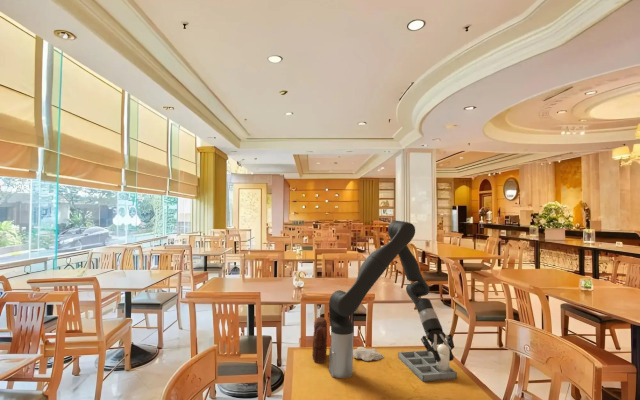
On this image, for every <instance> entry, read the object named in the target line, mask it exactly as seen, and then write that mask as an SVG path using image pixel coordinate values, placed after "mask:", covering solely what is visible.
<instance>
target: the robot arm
mask: <svg viewBox="0 0 640 400" xmlns="http://www.w3.org/2000/svg"><path fill="white" fill-rule="evenodd" d="M387 232H388V236H389V239H390V241H389V242H388V243H385V244H384V245H382V246H381V247H379V248H377V249H375V250H374V251H372V252H371V253H370V254H369V255H368V256H367V257H366V259H365V260H364V261H363V263H362V264H361V266H360V268H359V271H358V274H357V277H356V280H355V282H354V283H353V284H352V286H351V287H350V288H349V289H348V290H347V291H344V290H335V291H334V292H333V293H332V294H331V296H330V298H329V303H328V304H329V305H328V315H329V316H328V317H329V324H330V331H331V332H330V347H329V349H328V350H329V353H328V354H329V356H328V357H329V360H328V361H329V362H328V363H329V364H328V372H329V374H330V375H331V377H332V378H337V379H348V378H351V377H352V376H353V373H354V372H353V371H354V367H353V365H354V356H353V349H354V324H353V322H352V321H351V317H350V316H352V315H353V314H354V313H355V312H356V311H357V310H358V308H359V307H360V305H361V303H362V302H363V300H364V298H365V297H366V295H367V294H368V293H369V292H370V291H371V289H372V288H373V286H374V285H375V284H376V282H377V281H378V280H379V278H380V277H381V276H382V275H383V274H384V272H385V271H386V270H387V269H388V267H389V266H390V265H391V263H392V262H393V261H394V259H396V257H397V256H398V258H399V259H400V262H401V265H402V268H403V271H404V274H405V278H406V280H407V281H409V282H410V283H409V284H407V285H406V288H405V291H406V294H407V295H408V297H409V298H410V300H411V301H412V302H413V303H414V305H415V307H416V310H417V312H418V315H419V319H420V322H421V325H422V328H423V330H424V333H425V335H422V337H421V338H420V340H421V343H422V344H423V346H424V348H425V349H426V350H427V351H428V352H431V353H432V354H433V355H434V358H435V360H437V362H439V361H440V360H441V359H440V357H439V354H438V351H436V348H437V346H438V345H439V344H445V345H446V346H447V347H448V348H449V351H450V362H453V360H454V358H455V356H454V354H453V352H452V350H453V349H454V348H455V343H454V338H453V335H452V334H450V333H449V334H445V332H444V331H443V326H442V324H441V323H440V319H439V317H438V315H437V313H436V310H435V309H434V307H433V303H432V302H431V300H430V299H429V298H427V297H426V298H425V296H427V295H429V293H430V286H429V285H428V283H427V281H425V278H424V277H423V275H422V273H421V270H420V266H419V263H418V261H417V259H416V257H415V256H414V255H413V253H412V251H411V250H410V249H409V247H408V245H409V244H410V243H411V241H412V240H413V239H414V237H415V235H416V227H415V225H414V224H413V223H411V222H407V221H404V220H403V221H401V220H393V221H391V222H390V223H389V224H388V227H387ZM411 282H412V283H411ZM423 297H424V298H423Z"/></svg>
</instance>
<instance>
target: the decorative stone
mask: <svg viewBox="0 0 640 400" xmlns="http://www.w3.org/2000/svg"><path fill="white" fill-rule="evenodd" d="M353 358H355V359H357V360H358V359H359V360H362V361H364V362H371V361H379V360H382V359H384V358H385V356H384V355H383V354H382V353H380V352H379V351H378V350H377V349H376V348H367V347H364V346H358V347H357V348H353Z"/></svg>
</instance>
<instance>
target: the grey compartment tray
mask: <svg viewBox="0 0 640 400" xmlns="http://www.w3.org/2000/svg"><path fill="white" fill-rule="evenodd" d="M397 356H398V359H399V360H400V361H401V362H402V363H403V364H404V366H406V367H407V368H408V369H409V370H410V371H411V372H412V373H413V374H414V375H415V376H416V377H418V379H419V380H420V381H421V382H422V383H426V382H428V383H429V382H436V381H438V382H439V381H448V380H449V381H450V380H457V379H458V372H457V371H456V370H455V369H454V368H452V367H451V366H450V370H449V371H448V372H442V371H439V370H437V369H436V360H435V358H434V355H433V353H432V352H428V351H427V349H426V350H424V349H423V350H410V351H398V355H397Z"/></svg>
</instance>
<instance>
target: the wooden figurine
mask: <svg viewBox="0 0 640 400" xmlns="http://www.w3.org/2000/svg"><path fill="white" fill-rule="evenodd" d="M313 323H314V324H313V335H312V336H313V337H312V360H313V362H314V363H316V364H317V363H324V362H326V360H327V349H328V348H327V347H328V344H327V343H328V341H327V340H328V324H327V320H326V318H325V317H321V316H320V317H316V318H315V320H314V322H313Z"/></svg>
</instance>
